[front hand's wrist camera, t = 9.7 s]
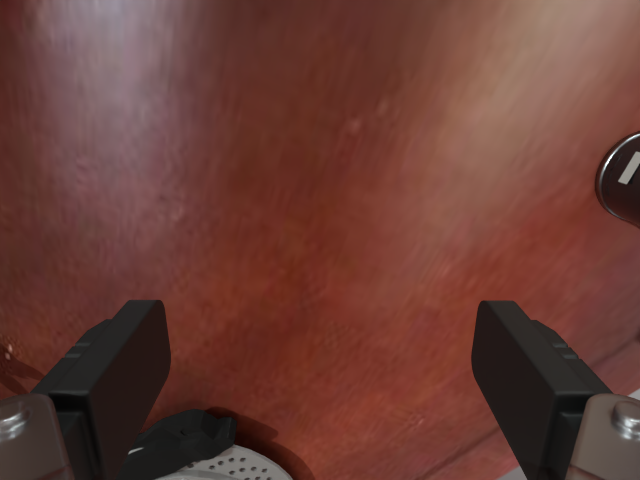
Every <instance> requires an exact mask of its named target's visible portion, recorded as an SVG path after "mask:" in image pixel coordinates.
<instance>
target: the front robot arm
mask: <svg viewBox="0 0 640 480" xmlns="http://www.w3.org/2000/svg"><path fill="white" fill-rule="evenodd" d="M595 190H596V195H597V198H598V200H599V202H600V204H601V205H602V207H603V208H604V209H605V210H606V211H608V212H609V213H611V214H612V215H614V216H616V217H619V218H621V219H624V220H628V221H630V222H632V223H634V224H636V225H638V226H640V131H638V132H635V133H633V134H631V135H628V136H627V137H625V138H623V139H622V140H620V141H619V142H618V143H616V144H615V145H614V146H613V147H612V148H611V149H610V150H609V151H608V153H607V154H606V155H605V157H604V158H603V160H602V162H601V163H600V166H599V168H598V171H597V174H596V179H595ZM471 361H472V370H473V374H474V377H475V380H476V382H477V384H478V385H479V387H480V389H481V391H482V393H483V395H484V397H485V399H486V401H487V403H488V405H489V407H490V409H491V410H492V412H493V414H494V416H495V418H496V420H497V422H498V424H499V426H500V428H501V430H502V432H503V434H504V435H505V437H506V439H507V441H508V443H509V445H510V447H511V449H512V451H513V453H514V455H515V457H516V459H517V460H518V462H519V464H520V466H521V468H522V470H523V472H524V474H525V476H526V478H527V480H640V400H637V399H635V398H631V397H628V396H624V395H619V394H614V393H613V392H612V391H611V390H610V389H609V388H608V387H607V386H606V385H605V384H604V383H603V382H602V381H601V380H600V379H599V377H598V376H597V375H596V374H595V373H594V372H593V371H592V370H591V369H590V368H589V367H588V366H587V365H586V364H585V363H584V361H583V360H582V359H579V358H578V355H577V354H576V353H575V352H574V351H573V350H572V349H571V348H570V347H568V344H567V343H566V342H565V341H564V340H563V339H562V338H561V337H560V336H559V335H558V334H557V333H556V332H555V331H554V330H552V329H550V328H549V327H547V326H545V325H544V324H542V323H540V322H539V321H537V320H530V318H529V317H528V316H527V315H526V314H525V313H524V312H523V310H522V309H521V308H520V307H519V306H518V305H517V304H516V303H515V302H514V301H481V302H480V304H479V307H478V311H477V318H476V326H475V333H474V340H473V347H472V355H471ZM170 364H171V352H170V344H169V337H168V330H167V322H166V315H165V308H164V305H163V303H162V301H161V300H129V301H128V302H127V303H126V304H125V305H124V306H123V307H122V308H121V309H120V311H119V312H118V313H117V314H116V315H115V316H114V317H113V319H106V320H104V321H103V322H101V323H99V324H98V325H96V326H94V327H93V328H91V329H89V330H88V331H87V332H86V333H85V334H84V335H83V336H82V337H81V338H80V339H79V340H78V341H77V342H76V344H75V346H73V347H72V348H71V349H70V350H69V351H68V352H67V353H66V354H65V358H62V359H61V360H60V361H59V362H58V363H57V364H56V365H55V366H54V367H53V368H52V369H51V370H50V372H49V373H48V374H47V375H46V376H45V377H44V378H43V379H42V380H41V381H40V382H39V383H38V384H37V386H36V387H35V388H34V389H33V390H32V391H31V392H30V393H29V394H21V395H16V396H12V397H9V398H5V399H3V400H0V480H115V479H116V477H117V475H118V473H119V471H120V469H121V467H122V465H123V463H124V461H125V459H126V457H127V455H128V453H129V452H130V450H131V448H132V446H133V444H134V442H135V440H136V438H137V436H138V434H139V432H140V430H141V428H142V426H143V424H144V422H145V420H146V418H147V416H148V415H149V413H150V411H151V409H152V407H153V405H154V403H155V401H156V399H157V397H158V395H159V393H160V391H161V389H162V387H163V385H164V383H165V381H166V379H167V377H168V374H169V370H170Z"/></svg>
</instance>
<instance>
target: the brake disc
mask: <svg viewBox="0 0 640 480" xmlns="http://www.w3.org/2000/svg"><path fill="white" fill-rule="evenodd" d="M236 425H237V421H236V420H234V419H233V418H232V417H223V418H220V419H216V418H215V417H214V416H212V415H211V414H207V413H206V412H205V411H204V410H197V409H192V410H187V411H184V412H181V413H178V414H175V415H172V416H169V417H166V418H163V419H161V420H160V421H158V422H156V423H155V424H154V425H153V426H152V427H150V428H149V429H148V430H147V431H146V432H144V433H140V434H138V436H137V438H136V440H135V442H134V444H133V446H132V448H131V450H130V452H129V453H128V455H127V457H126V459H125V461H124V463H123V465H122V467H121V469H120V471H119V473H118V475H117V477H116V479H115V480H293V479H292V478H291V476H290V475H289V474H288V473H287V472H286V471H285V470H283V469H282V468H281V467H280V466H279V465H278V464H276V463H275V462H273V461H271V460H270V459H268V458H267V457H265V456H263V455H261V454H259V453H257V452H254V451H252V450H250V449H247V448H244V447H240V446H237V445H234V441H235V433H236ZM231 458H234V459H231ZM242 458H245V459H242ZM220 461H223V462H220ZM191 464H193V465H191ZM253 467H256V468H253ZM241 468H245V469H241ZM233 471H234V472H233ZM268 477H271V478H268ZM248 478H249V479H248Z"/></svg>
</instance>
